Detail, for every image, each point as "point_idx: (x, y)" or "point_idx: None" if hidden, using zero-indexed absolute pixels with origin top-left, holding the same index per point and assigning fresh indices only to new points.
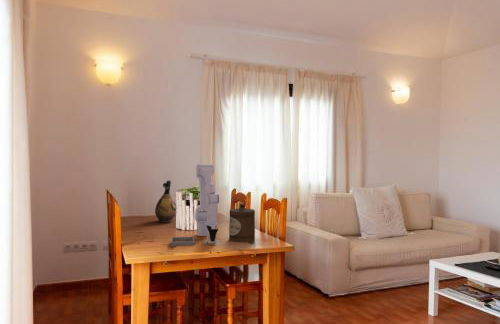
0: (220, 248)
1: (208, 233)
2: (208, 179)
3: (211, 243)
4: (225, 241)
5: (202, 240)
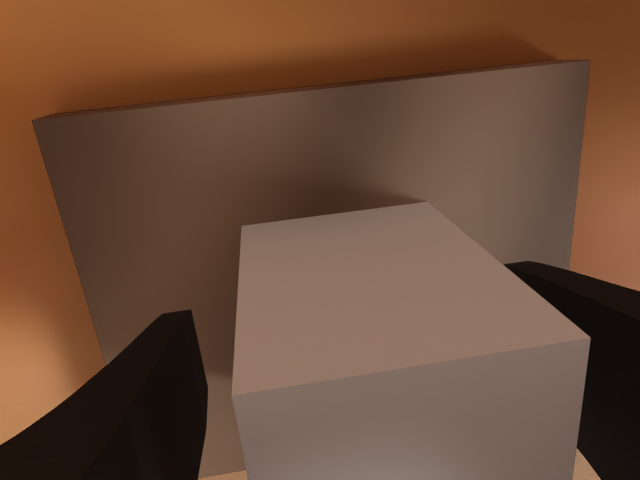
0: (5, 439)
1: (236, 364)
2: None
3: (218, 295)
4: None
5: (550, 72)
